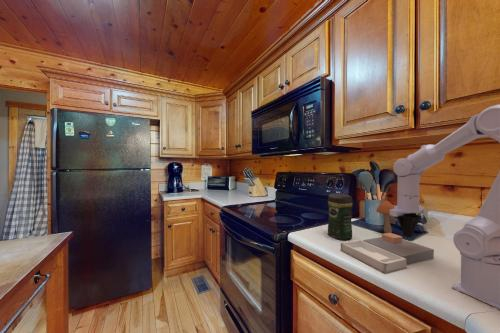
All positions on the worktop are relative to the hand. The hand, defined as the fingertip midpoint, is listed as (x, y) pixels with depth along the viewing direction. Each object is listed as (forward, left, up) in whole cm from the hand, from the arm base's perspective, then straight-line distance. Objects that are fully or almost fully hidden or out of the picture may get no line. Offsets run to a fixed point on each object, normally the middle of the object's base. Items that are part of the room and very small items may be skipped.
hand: (407, 236), depth 66 cm
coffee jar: (+24, +6, -8) cm, 25 cm away
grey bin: (+4, +12, -7) cm, 14 cm away
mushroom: (+20, -17, -8) cm, 27 cm away
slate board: (+4, 0, -7) cm, 8 cm away
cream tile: (+1, +13, -5) cm, 14 cm away
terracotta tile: (+7, -2, -4) cm, 9 cm away
